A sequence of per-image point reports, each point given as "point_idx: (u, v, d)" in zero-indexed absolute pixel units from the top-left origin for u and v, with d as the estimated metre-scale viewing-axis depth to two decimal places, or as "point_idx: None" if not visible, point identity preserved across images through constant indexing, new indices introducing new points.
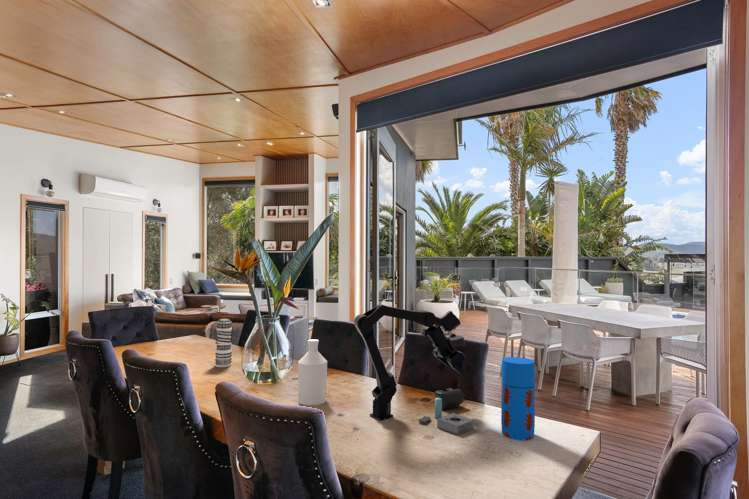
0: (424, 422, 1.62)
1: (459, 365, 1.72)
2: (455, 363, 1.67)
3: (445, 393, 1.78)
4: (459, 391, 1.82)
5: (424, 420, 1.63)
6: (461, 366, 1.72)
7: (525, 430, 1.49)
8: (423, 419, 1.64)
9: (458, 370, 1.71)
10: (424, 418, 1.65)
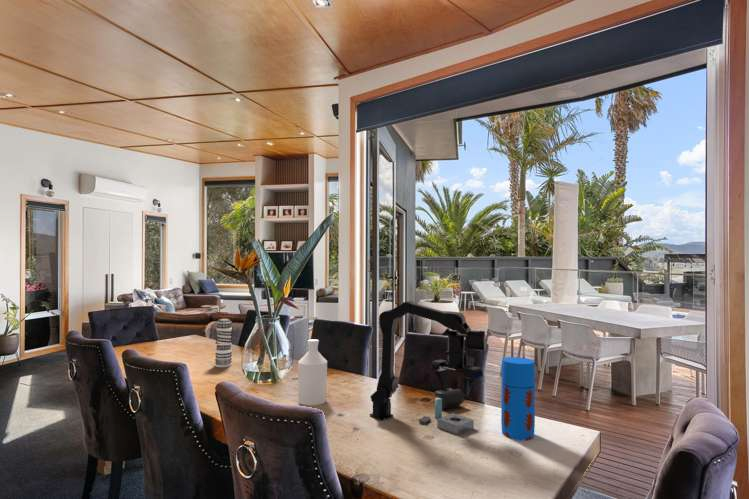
0: (424, 422, 1.62)
1: (469, 382, 1.55)
2: (475, 376, 1.52)
3: (445, 393, 1.78)
4: (459, 391, 1.82)
5: (424, 420, 1.63)
6: (470, 384, 1.56)
7: (525, 430, 1.49)
8: (423, 419, 1.64)
9: (467, 387, 1.54)
10: (424, 418, 1.65)
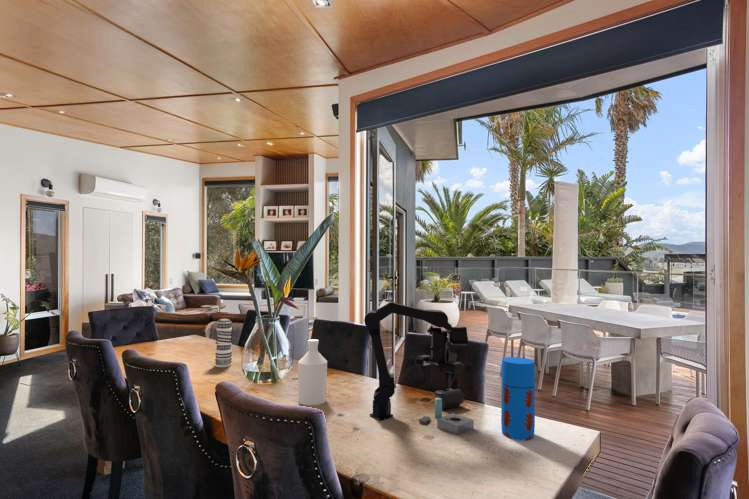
0: (424, 422, 1.62)
1: (451, 376, 1.65)
2: (456, 370, 1.61)
3: (445, 393, 1.78)
4: (459, 391, 1.82)
5: (424, 420, 1.63)
6: (452, 378, 1.65)
7: (525, 430, 1.49)
8: (423, 419, 1.64)
9: (449, 381, 1.64)
10: (424, 418, 1.65)
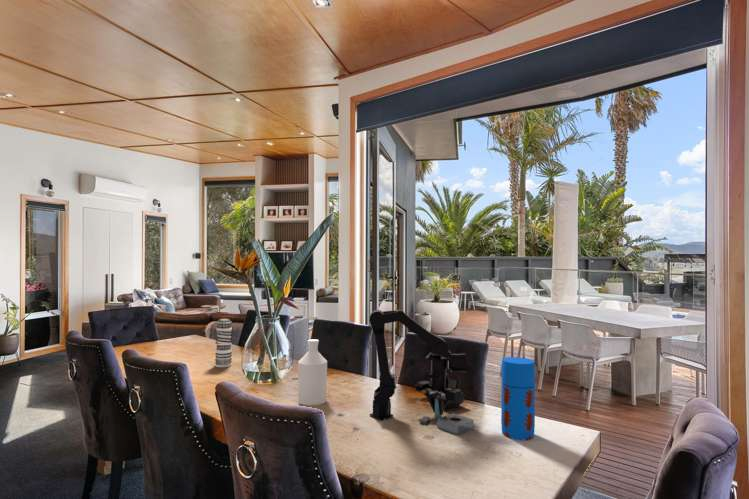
0: (425, 422, 1.62)
1: (444, 402, 1.67)
2: (456, 399, 1.61)
3: None
4: None
5: (424, 420, 1.63)
6: (445, 404, 1.67)
7: (525, 430, 1.49)
8: (423, 419, 1.64)
9: (442, 406, 1.66)
10: (424, 418, 1.65)
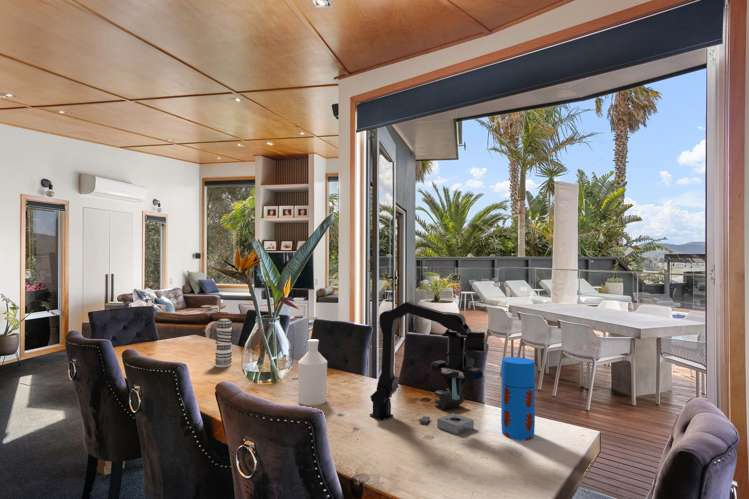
0: (425, 422, 1.62)
1: (462, 382, 1.57)
2: (475, 377, 1.51)
3: (445, 393, 1.78)
4: None
5: (425, 420, 1.63)
6: (463, 384, 1.58)
7: (525, 430, 1.49)
8: (423, 419, 1.64)
9: (459, 386, 1.56)
10: (424, 418, 1.65)
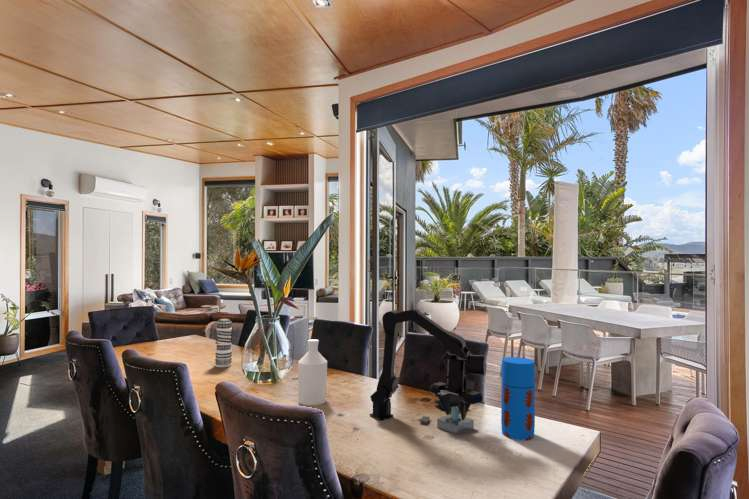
0: (425, 422, 1.62)
1: (466, 406, 1.56)
2: (475, 401, 1.51)
3: None
4: None
5: (425, 420, 1.63)
6: (467, 408, 1.56)
7: (525, 430, 1.49)
8: (423, 419, 1.64)
9: (464, 411, 1.55)
10: (424, 418, 1.65)
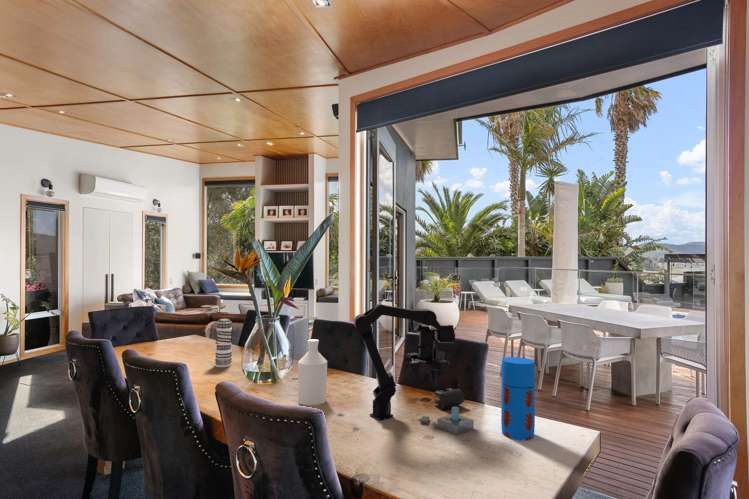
0: (426, 422, 1.62)
1: (437, 374, 1.68)
2: (442, 368, 1.64)
3: (445, 393, 1.78)
4: (459, 391, 1.82)
5: (425, 420, 1.63)
6: (438, 376, 1.68)
7: (525, 430, 1.49)
8: (423, 419, 1.64)
9: (435, 378, 1.67)
10: (424, 418, 1.65)
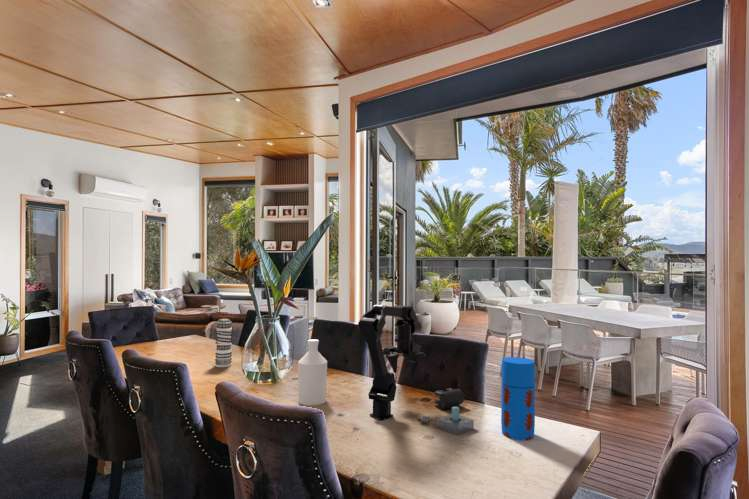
0: (426, 422, 1.62)
1: (414, 365, 1.80)
2: (418, 359, 1.76)
3: (445, 393, 1.78)
4: (459, 391, 1.82)
5: (425, 420, 1.63)
6: (415, 367, 1.80)
7: (525, 430, 1.49)
8: (424, 419, 1.64)
9: (412, 369, 1.79)
10: (424, 418, 1.65)
